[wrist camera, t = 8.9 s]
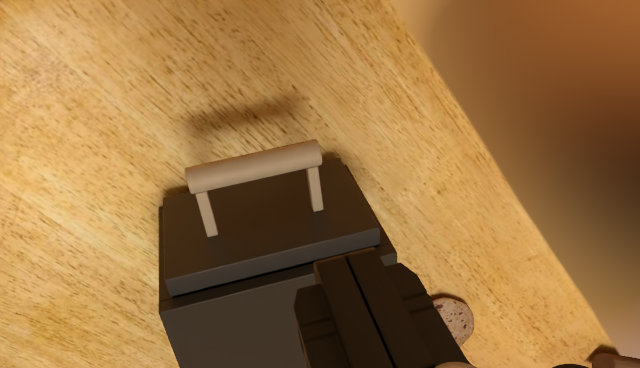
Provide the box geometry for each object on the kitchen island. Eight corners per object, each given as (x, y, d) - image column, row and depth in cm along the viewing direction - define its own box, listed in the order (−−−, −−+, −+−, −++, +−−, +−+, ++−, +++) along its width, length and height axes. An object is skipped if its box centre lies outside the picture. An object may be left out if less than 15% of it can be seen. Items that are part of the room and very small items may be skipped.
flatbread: (464, 282, 46) (469, 290, 45) (475, 338, 50) (481, 346, 50) (373, 319, 46) (377, 328, 45) (393, 372, 50) (397, 381, 49)
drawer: (142, 136, 32) (139, 211, 25) (333, 96, 34) (375, 158, 27) (210, 343, 42) (219, 435, 35) (355, 305, 43) (389, 386, 37)
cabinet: (158, 206, 36) (158, 312, 28) (346, 164, 37) (397, 252, 29) (208, 356, 44) (219, 471, 36) (361, 315, 45) (404, 416, 38)
